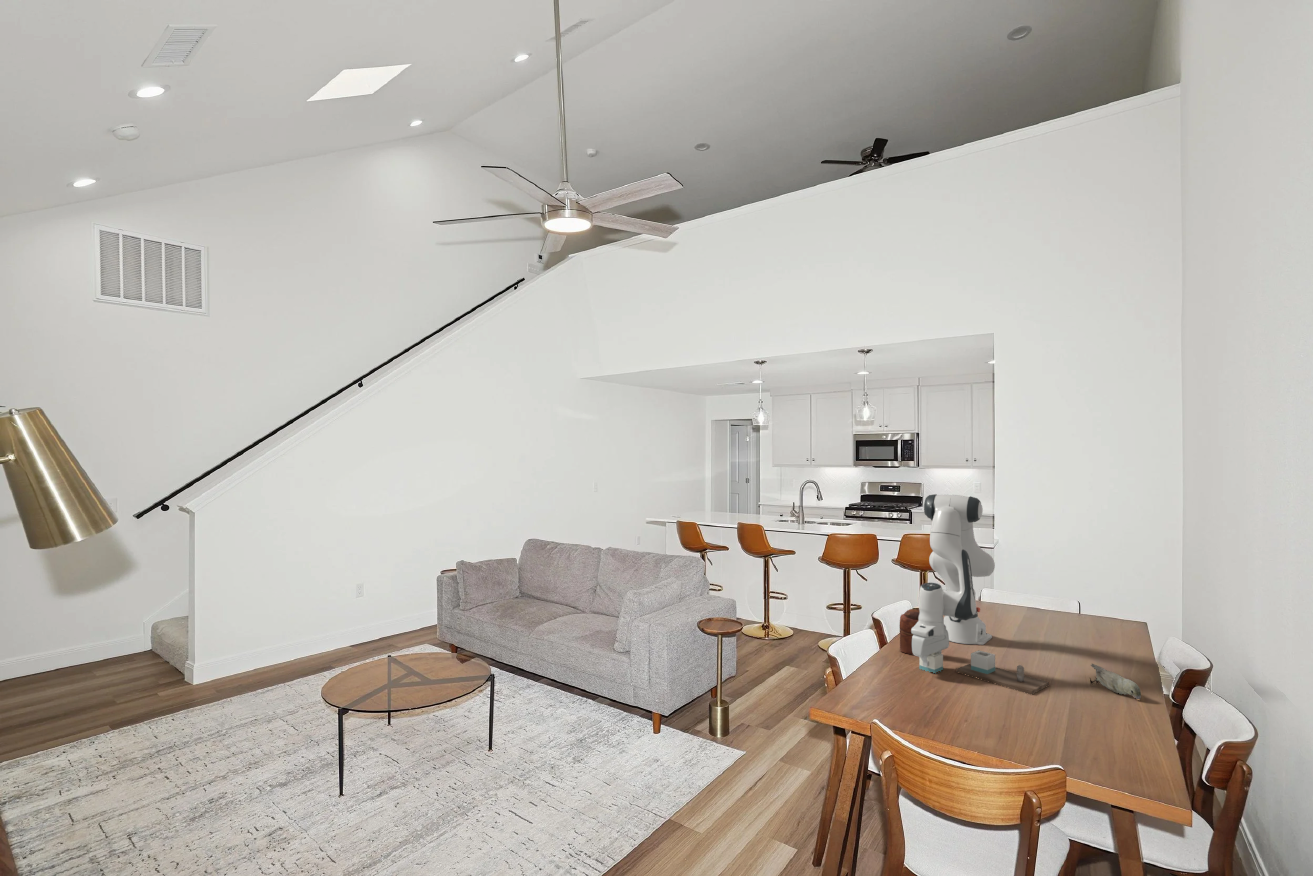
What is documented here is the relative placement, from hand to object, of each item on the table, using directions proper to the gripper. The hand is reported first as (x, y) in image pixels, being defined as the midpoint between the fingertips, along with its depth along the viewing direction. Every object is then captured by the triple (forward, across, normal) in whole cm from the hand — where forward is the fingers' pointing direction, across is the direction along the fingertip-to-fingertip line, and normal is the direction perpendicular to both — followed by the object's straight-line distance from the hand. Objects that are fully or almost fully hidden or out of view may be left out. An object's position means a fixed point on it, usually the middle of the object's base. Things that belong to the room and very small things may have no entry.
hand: (931, 664), depth 234 cm
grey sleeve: (+1, -12, +14) cm, 18 cm away
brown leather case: (+2, -12, -14) cm, 19 cm away
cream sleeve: (+2, 0, 0) cm, 2 cm away
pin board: (+2, -12, +20) cm, 23 cm away
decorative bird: (+3, -30, +49) cm, 58 cm away
